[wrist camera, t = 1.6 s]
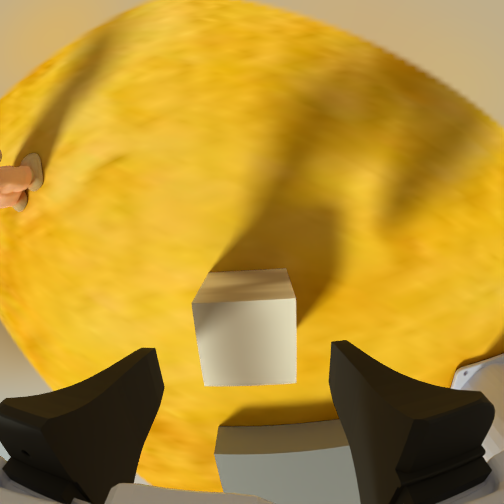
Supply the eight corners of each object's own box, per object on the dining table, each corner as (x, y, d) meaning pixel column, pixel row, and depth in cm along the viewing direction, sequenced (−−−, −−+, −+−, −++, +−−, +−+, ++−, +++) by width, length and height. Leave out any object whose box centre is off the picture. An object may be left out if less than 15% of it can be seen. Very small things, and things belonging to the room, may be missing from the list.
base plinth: (373, 413, 20) (384, 438, 17) (352, 490, 23) (357, 512, 20) (218, 426, 20) (214, 454, 18) (234, 500, 23) (232, 523, 20)
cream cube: (286, 268, 18) (295, 298, 13) (287, 336, 19) (296, 382, 14) (209, 272, 18) (191, 303, 13) (216, 340, 19) (204, 386, 14)
